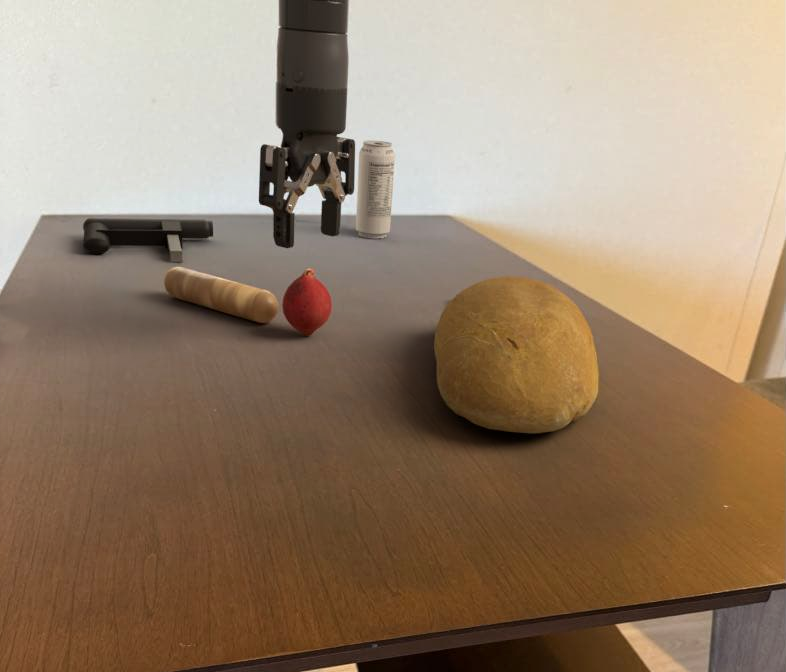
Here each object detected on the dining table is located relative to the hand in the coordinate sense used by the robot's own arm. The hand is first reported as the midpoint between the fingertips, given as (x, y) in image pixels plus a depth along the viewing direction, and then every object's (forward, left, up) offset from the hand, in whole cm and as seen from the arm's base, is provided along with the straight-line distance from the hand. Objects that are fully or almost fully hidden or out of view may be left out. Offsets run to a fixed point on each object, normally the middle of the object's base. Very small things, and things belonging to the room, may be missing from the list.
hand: (307, 240), depth 97 cm
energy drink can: (-24, +50, -11) cm, 57 cm away
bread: (+26, +4, -11) cm, 29 cm away
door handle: (-42, +15, -11) cm, 46 cm away
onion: (0, 0, -11) cm, 11 cm away
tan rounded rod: (-14, 0, -11) cm, 18 cm away
